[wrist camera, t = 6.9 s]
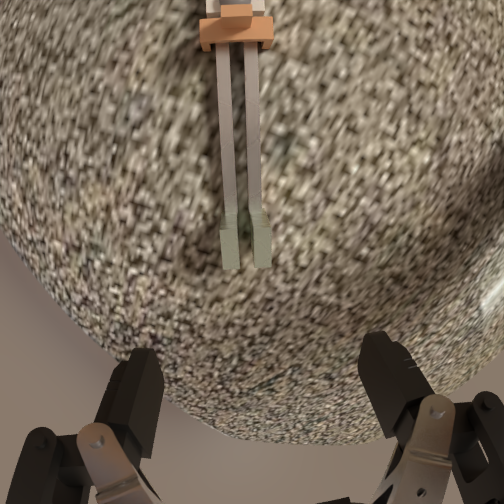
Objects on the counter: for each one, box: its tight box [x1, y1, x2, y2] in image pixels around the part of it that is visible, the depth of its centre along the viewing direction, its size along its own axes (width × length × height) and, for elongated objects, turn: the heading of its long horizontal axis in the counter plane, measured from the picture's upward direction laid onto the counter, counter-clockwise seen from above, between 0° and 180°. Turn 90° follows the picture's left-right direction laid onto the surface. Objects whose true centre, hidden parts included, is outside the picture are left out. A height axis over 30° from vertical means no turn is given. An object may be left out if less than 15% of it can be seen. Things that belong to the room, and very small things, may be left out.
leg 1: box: [216, 42, 240, 270], centre depth 19 cm, size 19×1×5 cm, turn 3°
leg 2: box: [243, 41, 271, 268], centre depth 20 cm, size 19×1×5 cm, turn 2°
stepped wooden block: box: [200, 4, 274, 52], centre depth 16 cm, size 2×5×5 cm, turn 92°
